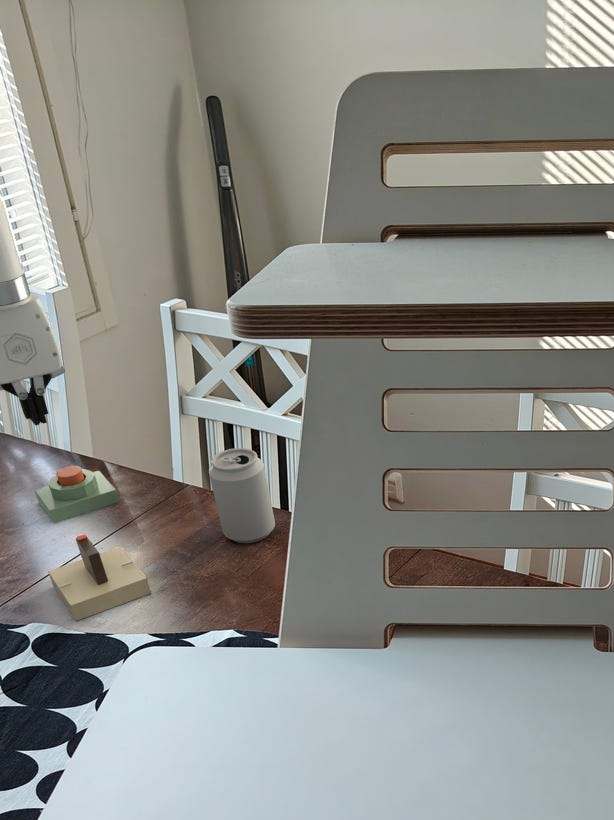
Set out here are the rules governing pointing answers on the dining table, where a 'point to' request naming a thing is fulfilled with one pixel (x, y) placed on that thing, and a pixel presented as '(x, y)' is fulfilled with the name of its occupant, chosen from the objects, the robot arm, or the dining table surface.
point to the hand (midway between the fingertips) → (38, 420)
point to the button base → (76, 496)
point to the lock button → (70, 476)
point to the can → (242, 495)
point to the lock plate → (94, 598)
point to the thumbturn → (91, 559)
